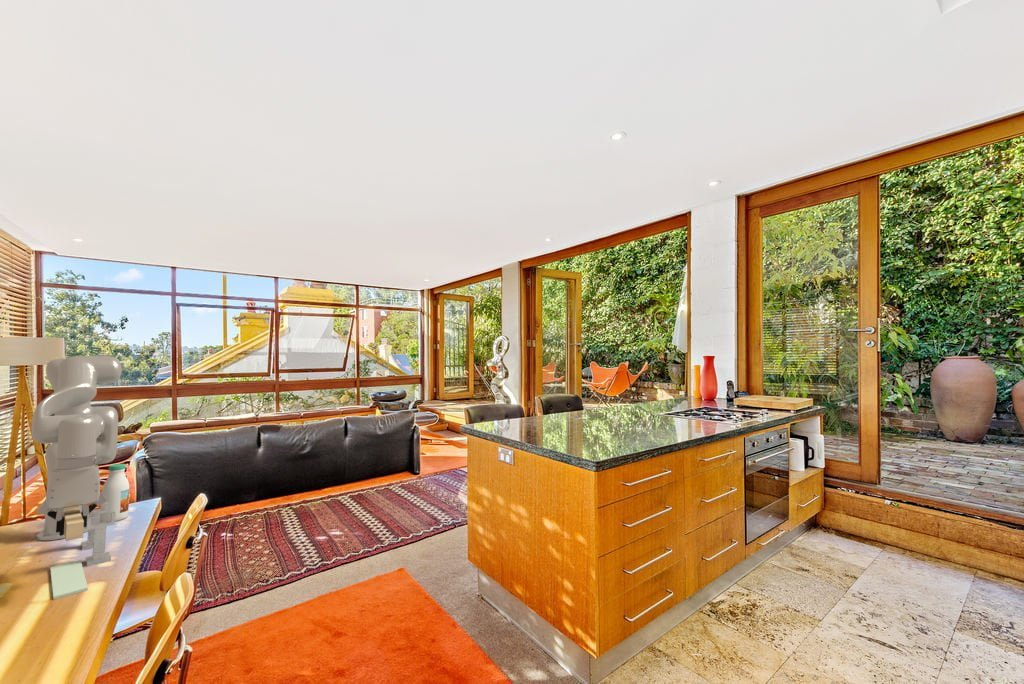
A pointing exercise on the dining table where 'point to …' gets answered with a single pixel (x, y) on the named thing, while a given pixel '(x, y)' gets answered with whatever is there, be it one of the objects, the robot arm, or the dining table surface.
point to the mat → (68, 579)
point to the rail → (73, 523)
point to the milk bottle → (116, 493)
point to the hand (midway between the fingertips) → (71, 531)
